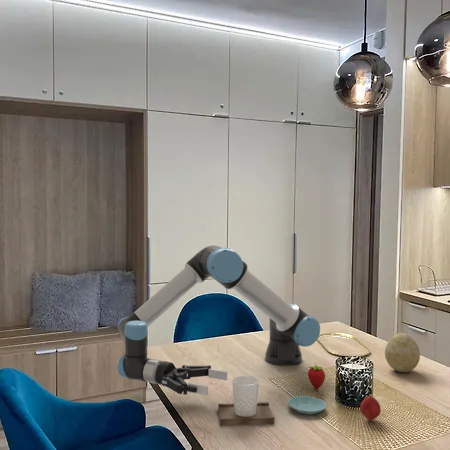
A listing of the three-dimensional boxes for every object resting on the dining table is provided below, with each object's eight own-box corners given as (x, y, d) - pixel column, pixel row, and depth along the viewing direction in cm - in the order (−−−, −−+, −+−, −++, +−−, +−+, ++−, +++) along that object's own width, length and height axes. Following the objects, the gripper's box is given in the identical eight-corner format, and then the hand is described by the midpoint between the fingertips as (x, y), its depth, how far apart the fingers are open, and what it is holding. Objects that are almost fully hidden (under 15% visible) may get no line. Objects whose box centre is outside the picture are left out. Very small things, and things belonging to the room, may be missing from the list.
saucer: (298, 399, 160) (298, 392, 160) (332, 408, 153) (332, 401, 153) (281, 412, 151) (281, 404, 150) (316, 422, 144) (316, 414, 144)
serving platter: (333, 360, 201) (333, 356, 201) (312, 336, 236) (312, 333, 236) (376, 358, 202) (377, 355, 202) (349, 335, 237) (349, 332, 237)
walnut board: (268, 407, 153) (268, 402, 153) (274, 423, 142) (274, 417, 142) (218, 409, 152) (218, 403, 152) (220, 425, 141) (220, 419, 141)
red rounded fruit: (357, 416, 147) (357, 390, 147) (375, 415, 147) (376, 390, 147) (364, 425, 141) (364, 398, 141) (383, 424, 142) (383, 398, 141)
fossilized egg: (382, 374, 183) (383, 335, 182) (386, 363, 195) (387, 327, 194) (418, 379, 178) (419, 339, 177) (420, 368, 189) (421, 331, 188)
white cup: (256, 419, 142) (256, 386, 142) (230, 416, 144) (230, 383, 143) (259, 408, 150) (260, 376, 150) (235, 405, 152) (235, 374, 151)
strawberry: (310, 394, 163) (310, 365, 163) (305, 386, 171) (305, 358, 170) (327, 394, 164) (328, 365, 163) (321, 385, 171) (322, 358, 171)
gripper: (179, 371, 171) (234, 381, 162) (138, 397, 149) (198, 410, 140) (179, 350, 171) (234, 359, 162) (137, 373, 148) (198, 384, 139)
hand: (217, 383), depth 151 cm, fingers open, 13 cm apart
